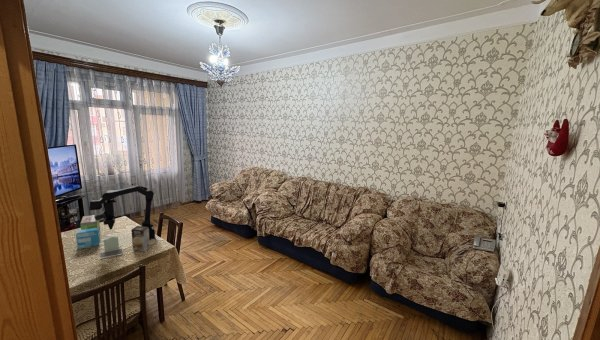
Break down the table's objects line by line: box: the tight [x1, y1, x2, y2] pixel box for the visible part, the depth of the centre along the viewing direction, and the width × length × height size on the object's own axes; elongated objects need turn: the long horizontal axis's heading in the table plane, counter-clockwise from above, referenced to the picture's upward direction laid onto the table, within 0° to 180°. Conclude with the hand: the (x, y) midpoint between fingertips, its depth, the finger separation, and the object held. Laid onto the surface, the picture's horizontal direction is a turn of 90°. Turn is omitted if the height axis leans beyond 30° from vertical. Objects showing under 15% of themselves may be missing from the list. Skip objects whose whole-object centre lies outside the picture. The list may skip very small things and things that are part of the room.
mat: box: [99, 247, 123, 261], centre depth 173 cm, size 12×10×1 cm
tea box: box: [79, 214, 101, 235], centre depth 193 cm, size 15×10×15 cm
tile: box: [103, 235, 120, 251], centre depth 178 cm, size 8×2×9 cm, turn 123°
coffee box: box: [131, 225, 151, 252], centre depth 180 cm, size 9×6×16 cm
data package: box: [75, 228, 100, 249], centre depth 180 cm, size 12×4×12 cm, turn 126°
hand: (111, 228), depth 182 cm, fingers open, 3 cm apart
